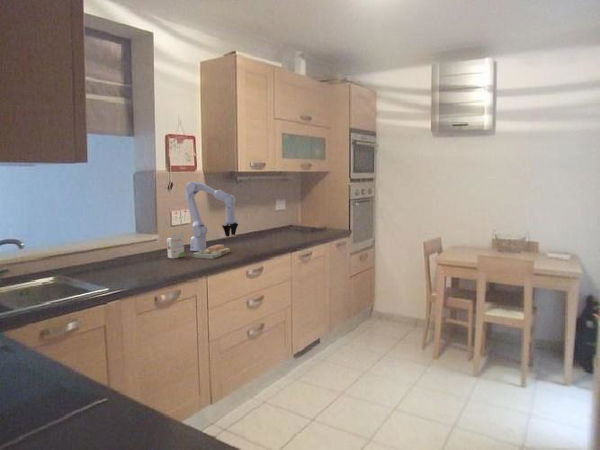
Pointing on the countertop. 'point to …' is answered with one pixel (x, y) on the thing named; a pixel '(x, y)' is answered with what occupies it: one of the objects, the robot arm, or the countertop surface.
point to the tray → (206, 255)
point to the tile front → (213, 248)
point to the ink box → (175, 245)
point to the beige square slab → (223, 251)
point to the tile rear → (220, 246)
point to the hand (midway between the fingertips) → (230, 235)
